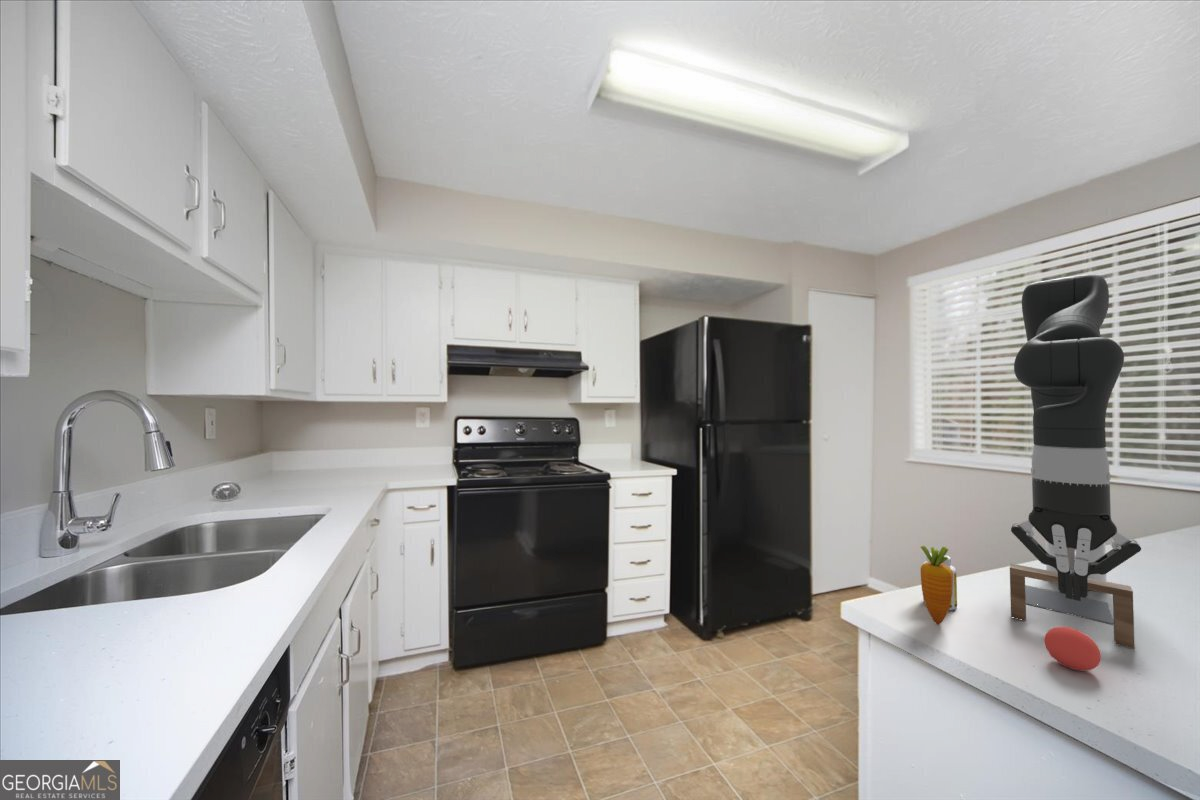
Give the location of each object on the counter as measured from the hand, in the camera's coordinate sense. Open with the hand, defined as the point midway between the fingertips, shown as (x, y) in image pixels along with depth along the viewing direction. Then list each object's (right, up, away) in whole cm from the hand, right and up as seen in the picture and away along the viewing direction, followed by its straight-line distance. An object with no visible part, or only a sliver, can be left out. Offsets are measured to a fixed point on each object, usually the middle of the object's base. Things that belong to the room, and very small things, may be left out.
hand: (1072, 597), depth 61 cm
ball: (+7, -11, +6) cm, 14 cm away
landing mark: (+29, -14, +27) cm, 41 cm away
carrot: (-4, -14, +19) cm, 24 cm away
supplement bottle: (+3, -14, +27) cm, 31 cm away
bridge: (+18, -14, +17) cm, 29 cm away
